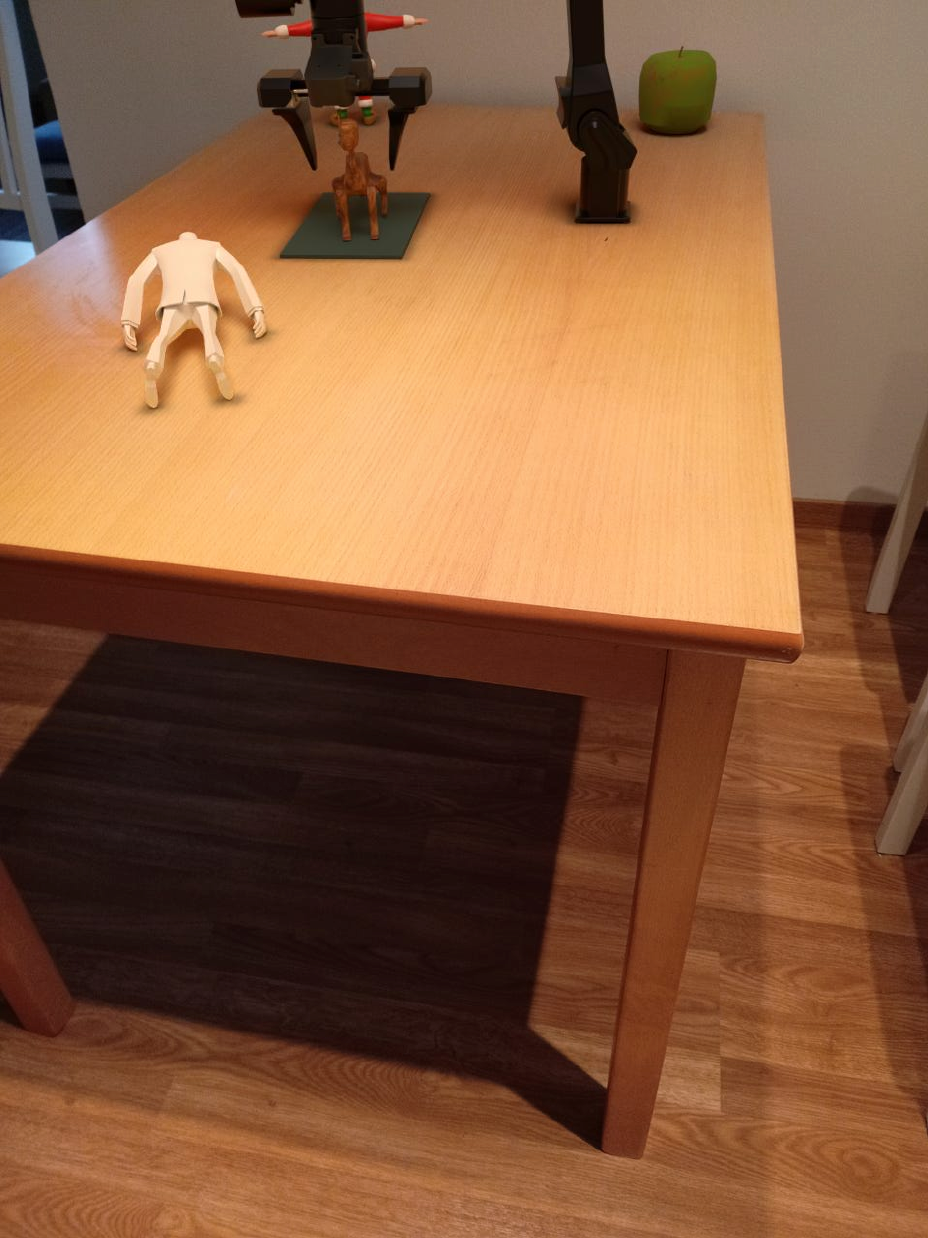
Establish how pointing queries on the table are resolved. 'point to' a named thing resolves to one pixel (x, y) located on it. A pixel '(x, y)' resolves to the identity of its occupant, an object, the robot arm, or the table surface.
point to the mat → (357, 228)
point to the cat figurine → (357, 180)
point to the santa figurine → (373, 24)
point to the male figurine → (187, 303)
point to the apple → (677, 90)
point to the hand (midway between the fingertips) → (353, 169)
